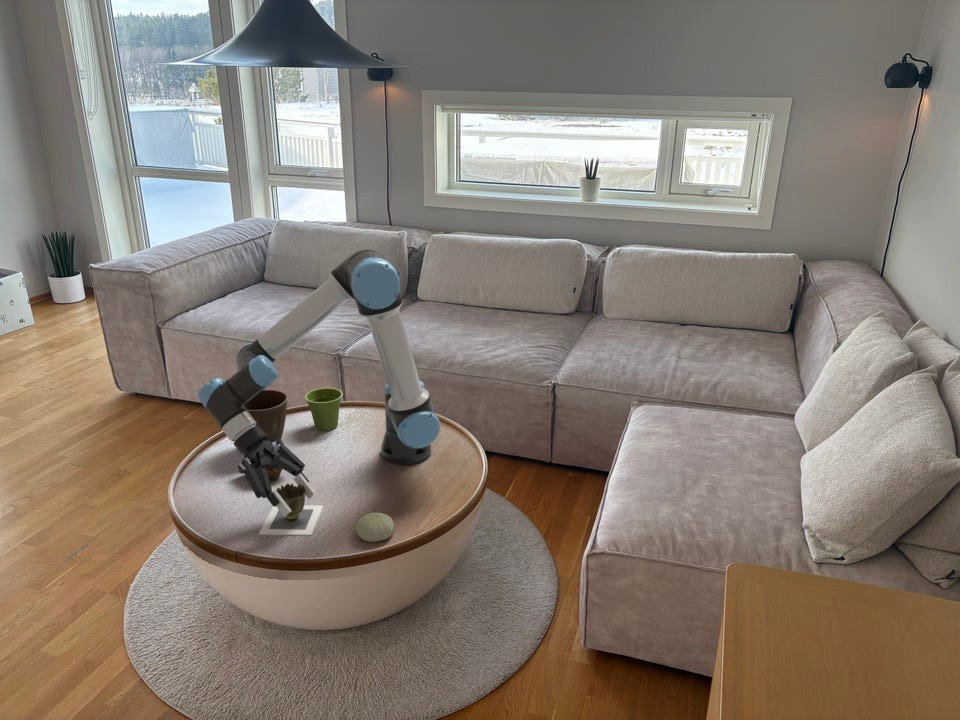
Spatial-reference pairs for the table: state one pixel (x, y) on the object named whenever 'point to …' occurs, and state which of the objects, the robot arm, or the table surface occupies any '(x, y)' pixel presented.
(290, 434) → the table surface
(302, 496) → the cup
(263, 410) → the plant pot
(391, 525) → the sea urchin shell
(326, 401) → the plant pot
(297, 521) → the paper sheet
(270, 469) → the decorative turtle
